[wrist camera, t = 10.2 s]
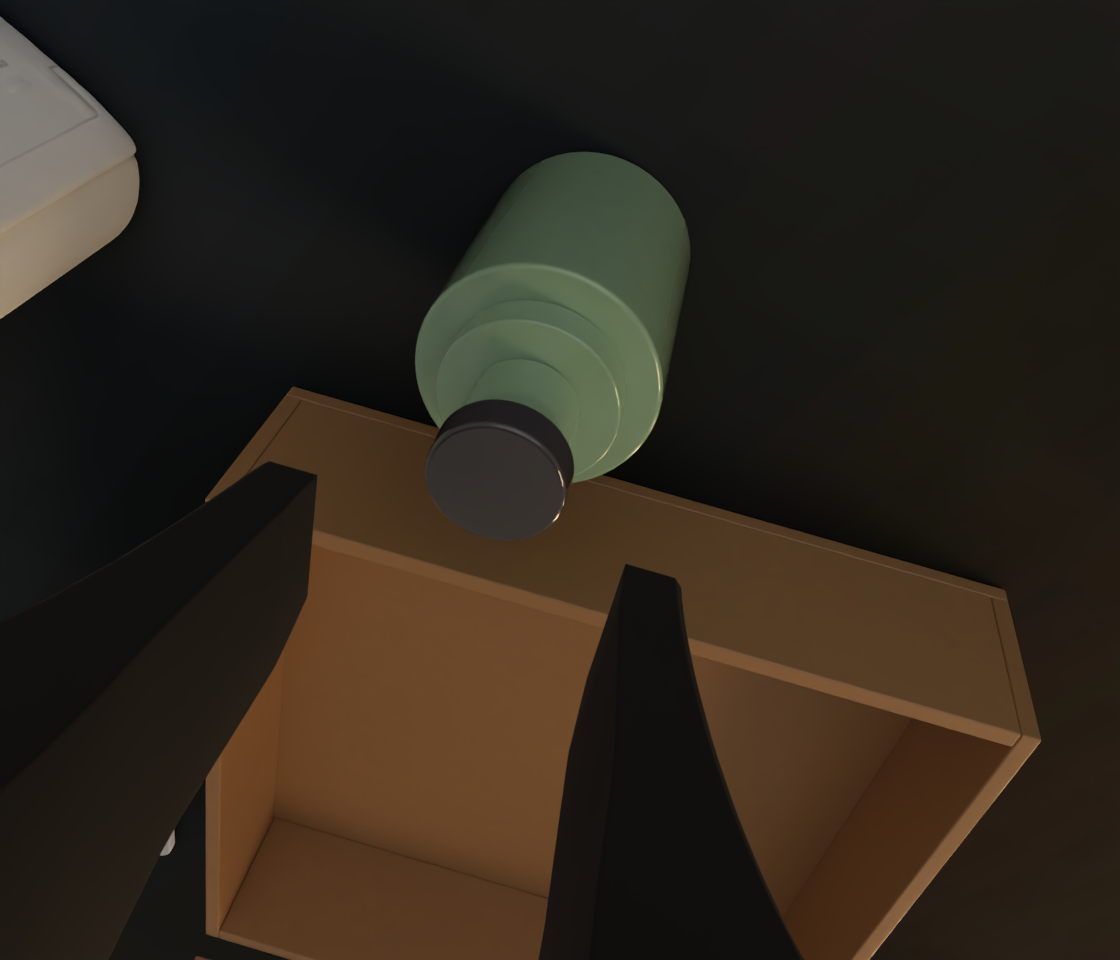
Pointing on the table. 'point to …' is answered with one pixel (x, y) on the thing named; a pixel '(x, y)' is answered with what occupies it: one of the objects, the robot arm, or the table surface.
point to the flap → (201, 958)
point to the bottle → (551, 342)
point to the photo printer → (55, 172)
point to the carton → (554, 700)
